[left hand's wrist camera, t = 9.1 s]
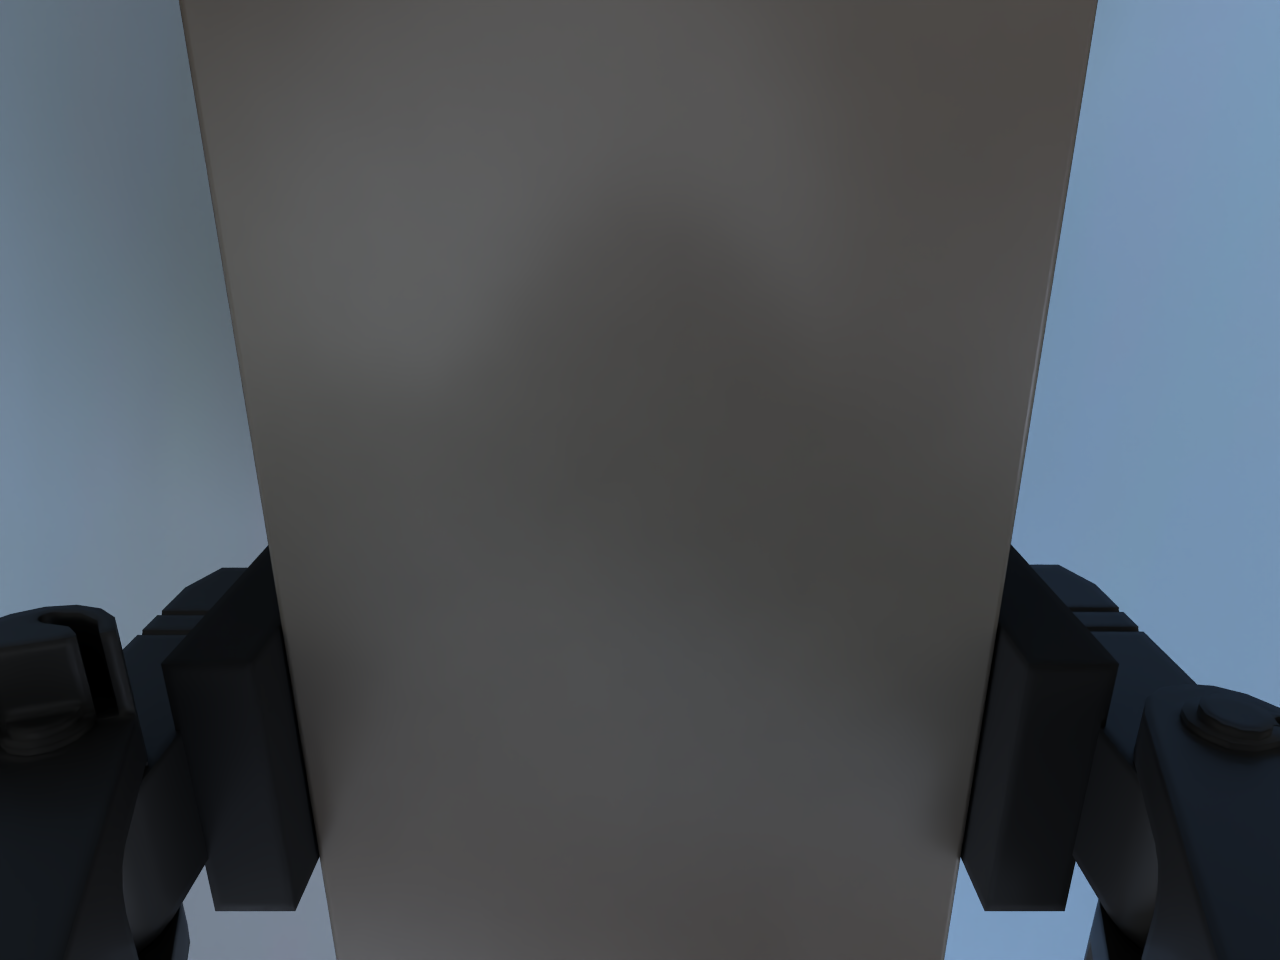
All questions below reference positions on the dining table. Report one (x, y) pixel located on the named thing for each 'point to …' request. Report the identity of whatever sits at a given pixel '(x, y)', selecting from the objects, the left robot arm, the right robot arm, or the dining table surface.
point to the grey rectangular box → (639, 447)
